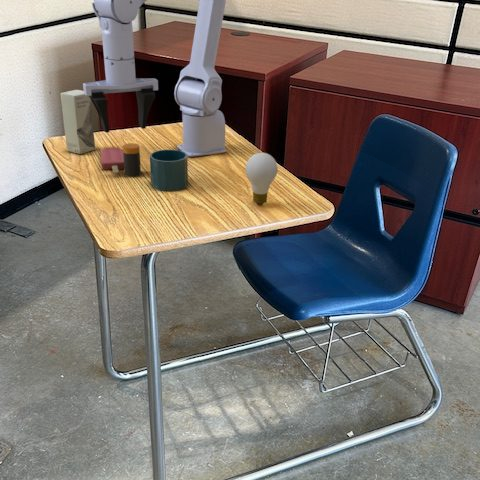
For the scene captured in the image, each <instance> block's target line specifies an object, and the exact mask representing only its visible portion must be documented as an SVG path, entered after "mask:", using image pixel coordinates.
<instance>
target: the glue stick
mask: <svg viewBox="0 0 480 480" xmlns="http://www.w3.org/2000/svg"><path fill="white" fill-rule="evenodd" d="M140 149H141V148H140V144H139V143H135V142H134V143H132V142H131V143H125V144H122V150H123V158H124V169H123V170H124V171H123V172H124V175H125V176H127V177H130V178H133V177H134V178H135V177H139V176H141V175H142V167H141V151H140Z"/></svg>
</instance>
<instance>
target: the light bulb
mask: <svg viewBox="0 0 480 480" xmlns="http://www.w3.org/2000/svg"><path fill="white" fill-rule="evenodd" d="M277 174H278V164H277V161H276V159H275V157H273V156H272V155H271V154H269V153H267V152H256V153H255V154H253V155H252V156H250V157H249V158H248V160H247V161H246V165H245V175H246V178H247V179H248V180H249V182H250V185H251V190H252V202H253V203H255V204H256V205H257V206H262V205H264V204H266V203H267V200H268V193H269V190H270V187H271V184H272V183H273V182H274V180H275V179H276V177H277Z"/></svg>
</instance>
